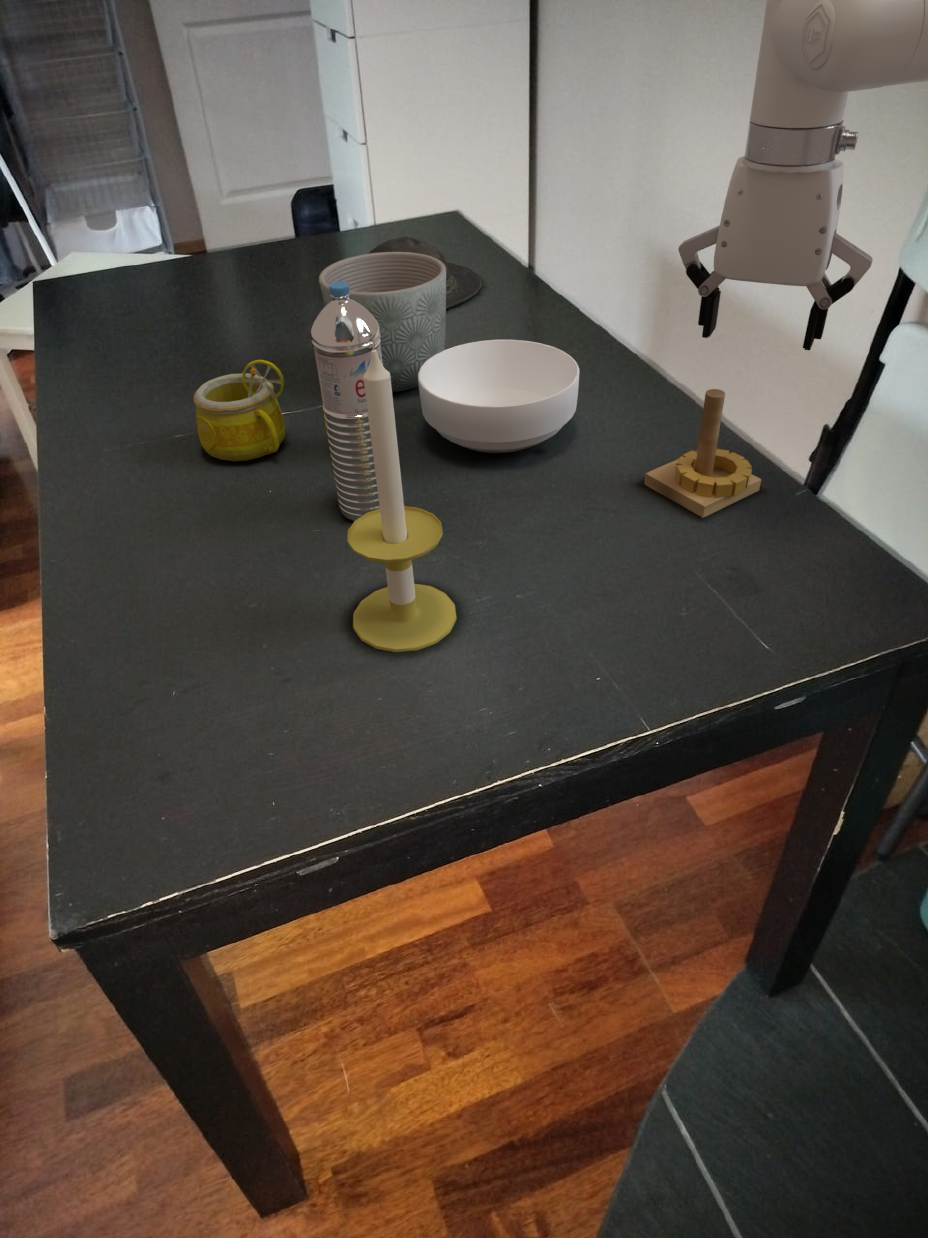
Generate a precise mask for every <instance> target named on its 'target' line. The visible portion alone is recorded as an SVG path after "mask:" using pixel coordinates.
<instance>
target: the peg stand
mask: <svg viewBox="0 0 928 1238" xmlns="http://www.w3.org/2000/svg"><path fill="white" fill-rule="evenodd" d="M725 398H726V392H725V391H724V390H723V389H718V388H711V389H710V388H709V389H707V390H706V391H705V394H704V400H703V408H702V415H701V423H700V429H699V435H698V443H697V448H696V449H697V456H696V463H695V470H694V471H695V472H697V473H699V474H701V475H703V476H708V477H714V478H718V477H727V476H729V475H731V473H729V472H727V471H725V470H723V469H719V468H714V462H715V455H716V449H718V442H719V437H720V429H721V423H722V416H723V410H724V404H725ZM694 451H695V452H696V450H694ZM678 459H679V458H677V459H675V460H673V461H669V462H668V463H665V464H664V465H661V466H659V467H656V468H654V469H651V470H650V471H648V472H645V473H644V474H645V476H644V485H645V487H648V488H649V489H651V490H653V491H655V492H657V493H658V494H660V495H661V496H663V497H665V498H666V499H668V500H670V501H672V502H674V503H676V504H677V505H679V506H680V507H683V508H684V509H686V510H688V511H690V512H692V513H693V514H695V515H697V516H699V517H700V518H702V519H704V518H706V517H708V516H710V515H712V514H714V513H716V512H718V511H721V510H723V509H724V508H726V507H729V506H731V505H733V504H735V503H736V502H738V501H741V500H742V499H745V498H747V497H749V496H751V495H753V494H756V493H757V492H759V491H760V487H761V484H762V478H761V477H758V476H757V475H754V474H752V473H751V478H750V482H749V485H748V487H747V489H746V488H745V491H743V492H741V493H739V494H737V495H732V494H731V496H729V497H717V498H716V497H715V496H714V494H713V495H712V497H706V496H701V495H696V492H693V493H691V492H689V491H687V490H686V489H684V488H682V487H681V485H679V484H678V482H677V481H676V479H675V470H676V463H677V461H678Z"/></svg>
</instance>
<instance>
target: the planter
mask: <svg viewBox="0 0 928 1238" xmlns="http://www.w3.org/2000/svg"><path fill="white" fill-rule="evenodd" d="M335 282H346V283H348V284H349V289H350V290H349V292H350V295H349V298H350V299H352V300H354V301H356V302H358V303H359V304H361V305H362V306H363V307H365V308H366V309H367V310H368V311H369V312H370V313H371V314H372V315H373V316H374V318H375V319H376V320H377V322H378V323H379V326H380V333H381V341H380V345H381V353H382V362H383V367H384V368H385V369H386V370H387V371H389V372H390V377H391V386H392V393H398V392H405V391H408V390H413V389H415V388H417V387H419V383H418V373H419V371H420V368H421V366H422V365H423V364H424V363H425V362H426V361H427V360H428V359H430V358H431V357H432V356H434V355H436V354H438V353H440V352H442V351H444V350H446V349H445V348H446V333H447V331H446V329H447V328H446V327H447V326H446V322H447V320H446V319H447V309H446V267H445V265H444V264H443V263H442V262H441V261H440V260H438V259H436V258H434V257H431V256H428V255H424V254H418V253H410V252H381V253H371V254H368V253H365V254H359V255H355V256H350V257H347V258H344V259H341V260H338V261H336V262H334V263H332V264H330V265H328V266H326V267H325V268H324V269H323V270H322V271H321V272H320V274H319V276H318V283H319V288H320V292H321V296H322V301H323V305H324V306H323V307H325V306H326V305H327V304H328V303H329V302H331V301H332V300H333V299H332V297H331V296H330V295H331V292H330V289H329V286H330V285H331V284H332V283H335Z"/></svg>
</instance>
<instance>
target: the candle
mask: <svg viewBox="0 0 928 1238" xmlns="http://www.w3.org/2000/svg"><path fill="white" fill-rule="evenodd" d="M372 346H373V350H372V351H371V358H370V364H369V367H368V369H367V371H366V372H365V374H364V375H363V379H364V387H365V394H366V402H367V410H368V418H369V426H370V434H371V442H372V450H373V458H374V466H375V474H376V482H377V490H378V498H379V505H380V509H378V510H375V511H371V512H368V513H366V514H365V515H363V516H362V517H360V518H359V519H357V520H355V521H353V523H352V524H351V526H350V527H349V528H348V530H347V544H348V546H349V547H350V548H351V551H353V552H354V553H355V555H357V556H359V557H361V558H363V559H365V560H367V561H370V562H375V563H384V569H385V576H386V582H387V583H386V584H387V586H386V587H383V588H381V589H377V590H375V591H373V592H372V593H370V594H369V595H368V596H366V597H365V598H364V599H362V600H360V602H359V604H358V606H357V607H356V608H355V610H354V611H353V614H352V628H353V631H354V632H355V633H356V635H357V636H358V638H359V639H360V641H361V642H363V643H365V644H367V645H368V646H370V647H371V648H373V649H375V650H379V651H380V650H381V651H386V652H390V653H391V652H392V653H405V652H406V653H407V652H416V651H420V650H422V649H425V648H428V647H430V646H433V645H435V644H438V643H439V642H441V640H442V639H444V638H445V637H446V636H447V635H449V634H450V633H451V631H452V629H453V627H454V626H455V624H456V621H457V611H456V605H455V603H454V602H453V601H452V599H451V598H450V597H449V596H448V595H447V594H446V593H445V592H444V591H441V590H439V589H437V588H436V587H433V586H431V585H426V584H419V583H415V577H414V569H413V567H414V566H413V560H415V559H418V558H421V557H424V556H425V555H427V554H429V552H431V551H433V550H434V549H435V548H437V546H438V544H439V542H440V541H441V539H442V538H443V535H444V533H443V526H442V522H441V520H439V519H438V517H436V515H435V514H434V513H432V512H429V511H428V510H425V509H423V508H421V507H415V506H406V505H405V503H404V492H403V491H404V490H403V484H402V473H401V465H400V464H401V463H400V455H399V446H398V445H399V444H398V436H397V434H398V433H397V426H396V425H397V424H396V416H395V407H394V398H393V392H392V386H391V377H390V372H389V371H387V370H386V369H385V368H384V367H383V365H382V363H381V361H380V359H379V356H378V353H377V350H375V349H374V344H373V343H372Z"/></svg>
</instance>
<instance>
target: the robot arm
mask: <svg viewBox="0 0 928 1238" xmlns="http://www.w3.org/2000/svg"><path fill="white" fill-rule="evenodd" d="M761 32H762V33H761V39H760V45H759V52H758V60H757V66H756V67H757V68H756V73H755V80H754V87H753V95H752V101H751V109H750V114H749V115H750V116H749V121H748V129H747V136H746V142H745V143H746V144H745V150H744V155H743V156H740V157H739V158H737V160H736V162H735V165H734V167H733V171H732V174H731V177H730V179H729V183H728V188H727V191H726V195H725V198H724V199H725V200H724V202H723V208H722V213H721V218H720V223H719V225H717V226H715V227H713V228H710V229H708V230H705V231H704V232H701V233H699V234H697V235H695V236H692V237H690V238H687V239H685V240H684V241H682V243H680V245H679V246H678V248H677V250H678V253H679V256H680V259H681V261H682V264H683V267H684V268H685V274H686V276H687V278H688V279H689V280H690V281H691V282H692V284H693V285H694V287H695V288H696V289H697V292H698V295H699V296H700V297H701V298H700V305H699V311H698V321H697V325H698V326H701V327H702V332H701V338H704V339H708V338H711V335H712V334H713V333H714V332H715V329H716V328H717V323H718V315H719V308H720V301H721V294H722V291H721V290H720V287H719V286H720V285H721V284H722V283H723V282H724V281H725V280H732V281H738V282H739V281H740V282H748V283H759V284H767V285H781V286H791V287H806V289H807V291H808V292H809V293H810V295H811V297H812V298H813V300H814V301H813V303H812V305H811V308H810V311H809V313H808V319H807V324H806V329H805V333H804V339H803V343H802V349H804V351H811V350H812V347H813V344H814V341H815V340H822V338H823V334H824V332H825V331H824V330H825V326H826V322H827V317H828V314H829V313H828V312H829V309H830V307H831V306H832V305H833V304H834V303H836V302H837V301H839V300H840V299H842V298H843V297H845V296H846V295H847V294H849V293H850V292H852V291H853V290H854V288H855V286H856V285H857V284H858V283H859V282H860V281H861V279H862V278H863V277H864V276H865V275H866V273H867V272H868V271H869V270H870V268H871V267H872V264H873V257H872V256H871V255H870V254H868V253H867V252H866V251H864V250H863V249H861V248H859V246H857V245H855V244H853V243H852V242H850V241H849V240H847V239H846V238H845V237H843V236H841V235H840V234H838V233H837V230H838V225H839V218H840V212H841V205H842V198H843V187H844V161H842V160H840V159H837V158H836V156H837V155H840V153H841V152H846V150H849V151H855V149H856V146H857V143H858V137H859V131H850V129H846V126H845V125H844V115H845V109H846V106H847V101H848V96H849V92H856V91H858V92H859V91H866V90H871V89H878V88H879V89H880V88H883V87H890V86H896V85H897V86H899V85H905V84H915V83H923V82H928V0H766V5H765V11H764V17H763V24H762V31H761ZM714 245H715V249H714V256H713V271H711V273H710V272H709V271H708V269H707V268H706V267H705V265H704V264H703V263H702V261H700V258H699V254H698V252H700V251H702V250H704V249H707V248H709V247H712V246H714ZM833 255H834V256H835V257H837V258H838V259H840V260H841V261H843V262H845V264H847V265H848V266H850V268H849V269H848V271H847V272H846V273H845V275H843V276H842V277H840V278H839V279H837V280H836V281H835V282H833V283H832V282H831V280H830V279H829V277H828V276H827V274H826V273H825V272H826V271H827V270H828V268H829V266H830V263H831V259H832V256H833Z"/></svg>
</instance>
